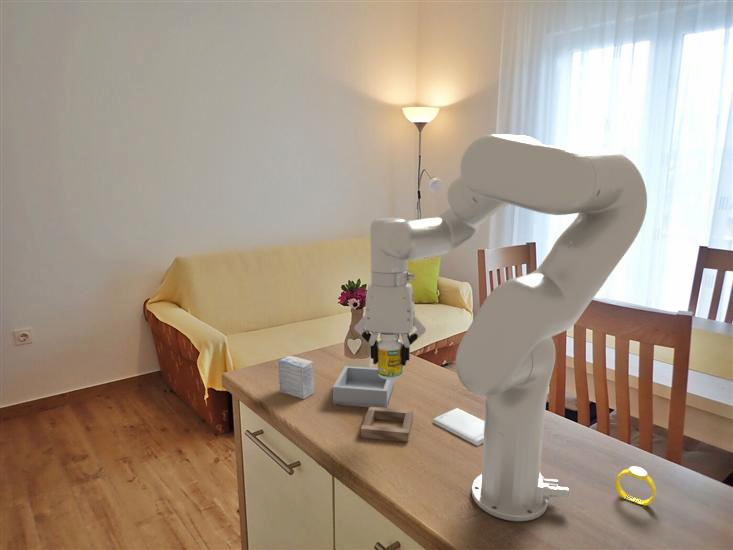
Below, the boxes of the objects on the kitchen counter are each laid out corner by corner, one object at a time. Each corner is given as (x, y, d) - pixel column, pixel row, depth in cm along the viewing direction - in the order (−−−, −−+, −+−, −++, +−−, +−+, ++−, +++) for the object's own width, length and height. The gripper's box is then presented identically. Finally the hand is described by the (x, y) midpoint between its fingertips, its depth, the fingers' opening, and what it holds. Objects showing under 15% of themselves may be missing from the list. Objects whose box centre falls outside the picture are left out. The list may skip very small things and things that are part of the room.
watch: (653, 505, 87) (660, 475, 86) (650, 513, 85) (657, 483, 84) (616, 489, 91) (622, 460, 89) (612, 497, 89) (618, 467, 87)
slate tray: (394, 385, 133) (394, 369, 132) (386, 408, 121) (386, 391, 120) (345, 381, 135) (345, 365, 134) (333, 404, 123) (332, 386, 122)
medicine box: (314, 393, 129) (314, 361, 127) (303, 400, 125) (302, 367, 123) (290, 386, 133) (289, 354, 131) (279, 392, 129) (277, 360, 127)
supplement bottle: (393, 368, 113) (392, 326, 111) (408, 376, 108) (408, 332, 106) (372, 374, 110) (372, 331, 108) (387, 382, 105) (387, 337, 103)
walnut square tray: (412, 418, 116) (413, 410, 116) (408, 441, 106) (408, 432, 106) (369, 414, 118) (369, 406, 117) (361, 437, 108) (361, 428, 108)
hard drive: (433, 418, 114) (477, 440, 105) (457, 407, 119) (502, 427, 110) (432, 425, 114) (477, 448, 105) (457, 413, 120) (501, 435, 110)
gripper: (432, 275, 107) (431, 358, 110) (352, 274, 110) (354, 354, 114) (430, 283, 100) (429, 371, 103) (344, 281, 103) (346, 367, 106)
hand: (390, 361), depth 108 cm, fingers closed on supplement bottle, 5 cm apart
